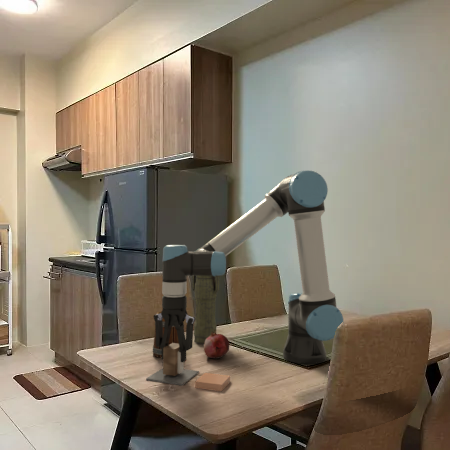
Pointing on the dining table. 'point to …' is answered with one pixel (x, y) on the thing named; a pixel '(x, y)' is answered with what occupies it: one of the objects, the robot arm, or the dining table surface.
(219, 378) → the tile
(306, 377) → the dining table surface
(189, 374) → the coaster
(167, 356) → the push block
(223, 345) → the fruit
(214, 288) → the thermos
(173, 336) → the mug
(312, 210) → the robot arm
